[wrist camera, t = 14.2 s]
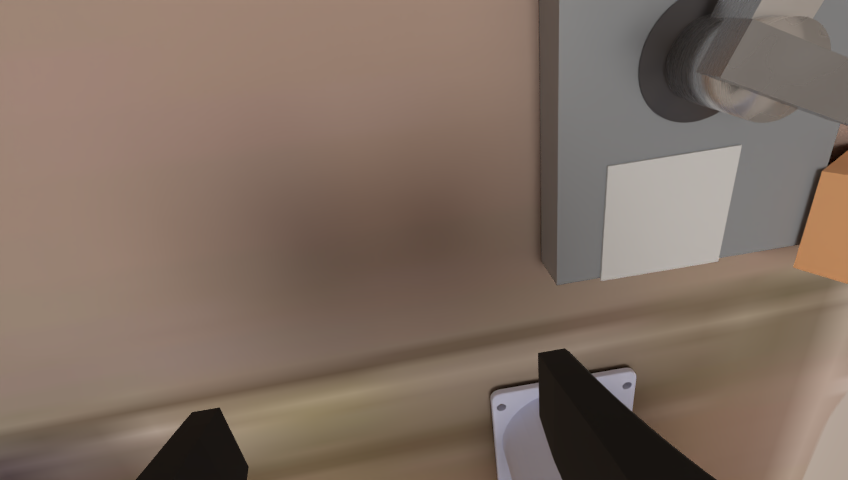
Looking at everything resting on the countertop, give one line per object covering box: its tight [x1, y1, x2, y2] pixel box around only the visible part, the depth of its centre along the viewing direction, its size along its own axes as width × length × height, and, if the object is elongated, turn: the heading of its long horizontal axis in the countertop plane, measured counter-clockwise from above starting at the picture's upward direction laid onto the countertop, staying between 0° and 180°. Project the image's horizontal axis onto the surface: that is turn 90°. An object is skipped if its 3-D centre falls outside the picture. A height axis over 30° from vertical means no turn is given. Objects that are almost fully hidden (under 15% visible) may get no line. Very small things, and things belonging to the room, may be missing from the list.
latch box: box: [539, 0, 848, 285], centre depth 17 cm, size 14×11×2 cm
